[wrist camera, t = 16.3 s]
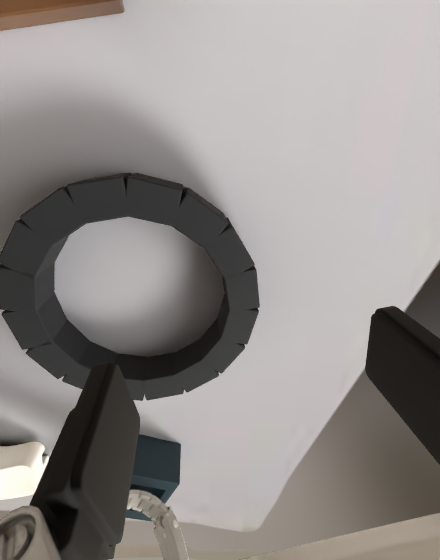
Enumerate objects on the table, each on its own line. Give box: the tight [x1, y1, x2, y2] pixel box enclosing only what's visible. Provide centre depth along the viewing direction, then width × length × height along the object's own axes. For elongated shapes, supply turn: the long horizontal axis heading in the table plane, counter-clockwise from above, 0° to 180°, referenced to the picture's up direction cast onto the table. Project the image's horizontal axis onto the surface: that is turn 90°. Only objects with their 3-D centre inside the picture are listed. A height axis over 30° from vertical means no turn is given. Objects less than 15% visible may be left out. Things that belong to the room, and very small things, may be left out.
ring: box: [0, 173, 260, 401], centre depth 16 cm, size 14×14×2 cm
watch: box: [126, 434, 189, 560], centre depth 19 cm, size 6×8×11 cm
